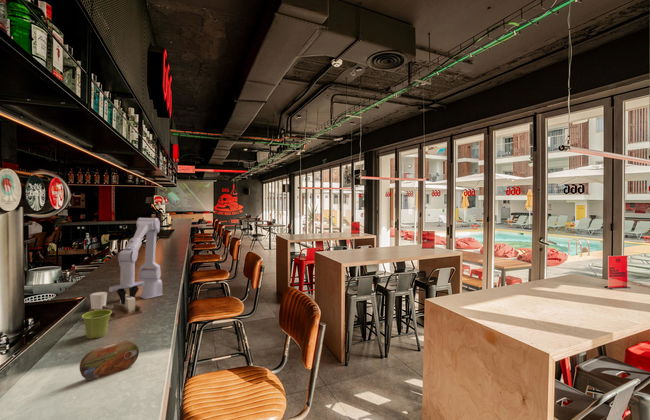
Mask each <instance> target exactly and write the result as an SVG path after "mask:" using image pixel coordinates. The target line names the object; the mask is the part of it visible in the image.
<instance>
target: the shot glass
mask: <svg viewBox="0 0 650 420" xmlns="http://www.w3.org/2000/svg"><path fill="white" fill-rule="evenodd" d="M89 297H90V298H89V299H90V309H93V310H102V306H106V307H107V299H108V298H107V297H108V292H107V291H98V292H97V291H96V292H92V293H90V294H89Z"/></svg>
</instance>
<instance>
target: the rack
mask: <svg viewBox="0 0 650 420" xmlns="http://www.w3.org/2000/svg"><path fill="white" fill-rule="evenodd" d="M101 310H111V311H112V313H111V314H110V317H109V321H108V322H110V321H114V320H119V319H122V317H123V318H126V317H129V316H133V315H138V314H141V313H142V311H143V310H141V306H140V305H138V304H136V303H135V311H132V312H129V309H127V308H125V307H123V306H121V305H120V303H119V304H118V303H117V302H114V304H113V307H111V308H109V307H108V306H107V305H106V306H102V309H101ZM91 311H95V310H94V309H91V308H89V309H88V312H91Z"/></svg>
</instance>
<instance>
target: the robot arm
mask: <svg viewBox="0 0 650 420" xmlns="http://www.w3.org/2000/svg"><path fill="white" fill-rule="evenodd" d="M160 230H161V222H160V219H159V218H158V217H138V218H137V220H136V230H135V233H134V235H133V237H131V238H130V239H129V240H128V242H127V243H126V246H125V247H124V249H122V250H121V251H120V252H119V253H118V255H117V261H118V265H119V267H120V276H119V277H120V281H119V283H120V284H115V285H113V286H109V288H108V291H109V292H110V293H111V292H114V291H115V292H116V293H117V295H118V297H119V301H120V300H121V304H122V305H125V295H127V294H126V293H127V291H126V290H127V289H128V294H129V295H130V296H132V297H134V298H136V294H137V292H139V287H141V294H139V295H138V297H140V298H142V299H144V300H147V299H152V298H155V297H160V296H164V294H163V281H162V279H161V276H162V271H161V265H160V264H158V263H157V262H156V250H157V234H159V233H160ZM144 236H145V237H146V238H145V254H144V255H145V256H144V263H143V264H141V266H140V267H139V270H138V274H137V275H138V279H139V280H140V281H135V280H136V279H135V277H136V274H135V273H136V272H135V271H136V266H135V265H136V262H137V260H138V255H139V249H140V248H141V246H142V244H143V242H142V240H143V238H144ZM125 289H126V290H125Z"/></svg>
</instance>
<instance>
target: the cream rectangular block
mask: <svg viewBox="0 0 650 420" xmlns="http://www.w3.org/2000/svg"><path fill="white" fill-rule="evenodd" d="M135 304H136V297H132V296H130V294H125V305H122V304H121V300H120V299H119V305H121V306H123V307H125V308H127V309H129V312H132V311H135Z"/></svg>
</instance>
